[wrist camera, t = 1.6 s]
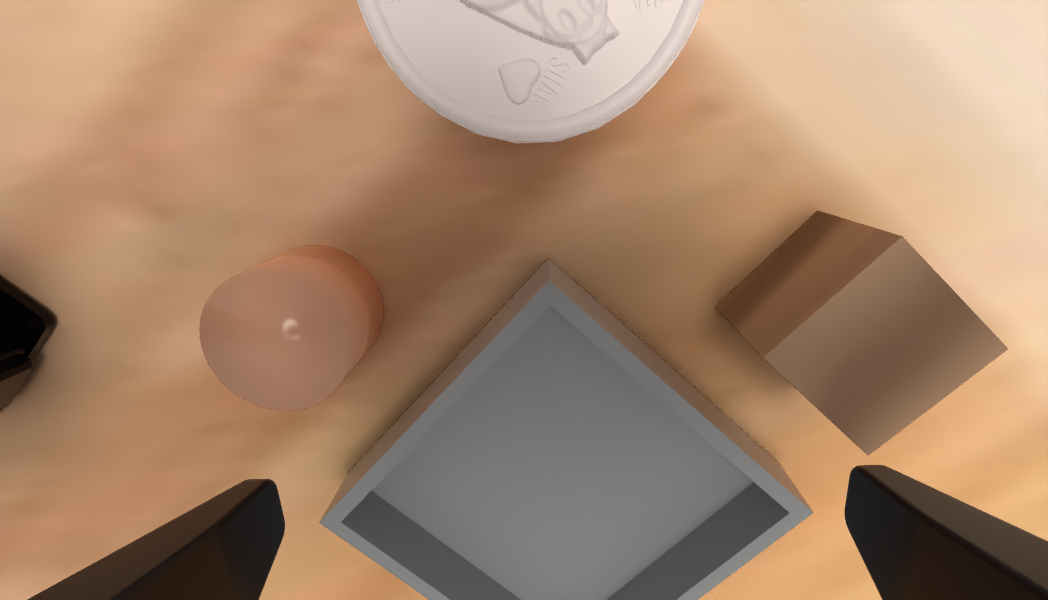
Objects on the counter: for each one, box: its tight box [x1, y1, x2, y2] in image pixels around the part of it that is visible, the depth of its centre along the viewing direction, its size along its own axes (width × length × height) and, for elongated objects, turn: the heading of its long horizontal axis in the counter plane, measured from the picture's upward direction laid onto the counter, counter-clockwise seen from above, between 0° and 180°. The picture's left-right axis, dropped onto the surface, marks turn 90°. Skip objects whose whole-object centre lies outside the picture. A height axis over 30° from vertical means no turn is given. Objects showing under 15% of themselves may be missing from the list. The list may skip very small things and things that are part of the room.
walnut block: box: [715, 211, 1008, 455], centre depth 18 cm, size 5×5×5 cm
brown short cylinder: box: [200, 245, 383, 411], centre depth 20 cm, size 5×5×4 cm
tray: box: [319, 258, 813, 600], centre depth 22 cm, size 13×13×3 cm
